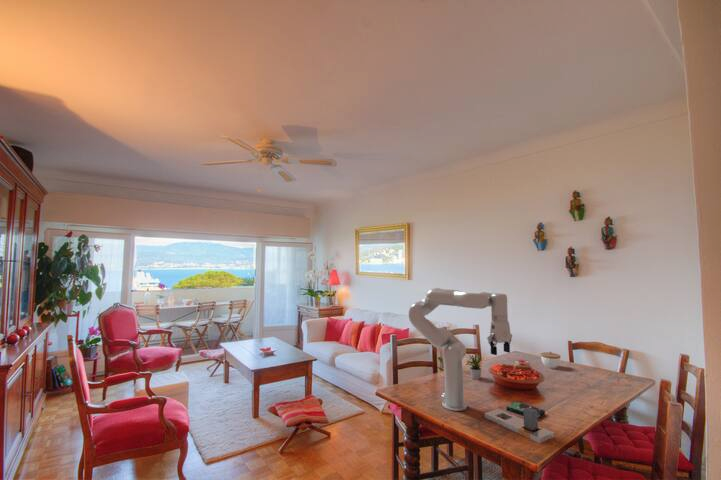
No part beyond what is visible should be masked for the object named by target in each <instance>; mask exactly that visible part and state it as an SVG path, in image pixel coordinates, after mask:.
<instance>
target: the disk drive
mask: <svg viewBox="0 0 721 480" xmlns="http://www.w3.org/2000/svg"><path fill="white" fill-rule="evenodd" d="M528 407H530V408H532V409H535V410H537V415H538V420H539V419H541V418H542V417H544V416H545V415H546V411H545V409H542V408H539V407H536V406H532V405H529V404H526V403H523V402H521V401H514V402H512V403H511V404H508V405H506V409H505V410H506V411H507V412H509V413H513V414H514V415H515V414H516V415H518V416H522V417H524V413H523V409H525V408H528Z"/></svg>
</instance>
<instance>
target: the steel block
mask: <svg viewBox="0 0 721 480" xmlns="http://www.w3.org/2000/svg"><path fill="white" fill-rule="evenodd" d="M523 413H524V416H523V420H524V429H526V430H528V431H531V432H533V433H534V432H536V431H538V426H539V419H538V415H537V410H535V409H532V408H530V407H528V408H525V409H523Z"/></svg>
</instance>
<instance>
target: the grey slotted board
mask: <svg viewBox="0 0 721 480" xmlns="http://www.w3.org/2000/svg"><path fill="white" fill-rule="evenodd" d="M484 418H485V419H487V420H489V421H492V422H494V423H496V424H498V425H499V426H502V427H504V428H506V429H509V430H510V431H512V432H515V433H518V434H519V435H521V436H524V437H526V438H528V439H530V440H531V441H535V442H537V443H538V444H542V443H543V442H546V441H548V439H549V440H550V439H553V438H555V435H554V432H553V431H551V430H549V429H546V428H545V427H542V426H539V425H538V431H536V432H534V433H533V432H531V431H528V430H526V429H524V418H521V417H518V416H516V415H515V414H514V415H513V414H511V413H510V412H508V411H507V412H506V411H504V410H502V409H500V408H497V409H494V410H490V411H487V412H484Z"/></svg>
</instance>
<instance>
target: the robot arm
mask: <svg viewBox="0 0 721 480" xmlns="http://www.w3.org/2000/svg"><path fill="white" fill-rule="evenodd" d="M439 306H451V307H460V308H461V307H462V308H468V309H478V310H479V309H486V308H487V307H491V308H490V309H491V322H490V330H489V331H490V332H489V333H490V334H489V336H487V338H486V339H487V341H488V344H489V346H490V354H491V355H494V356H497V355H498V349H497V344H499V343H500V344H503V352H504V353H510V352H511V348H510V347H511V342H512V337H513V334H512V333H511V327H510V323H509V320H508V319H509V318H508V315H509V314H508V296H507V294H505V293H497V292H496V293H490V292H479V293H476V292H475V293H474V292H464V291H463V292H462V291H460V290H458V289H445V288H440V287H434V288H430V289H429V290H427V292H426V296H425V297H424V298H423V299H422V300H419V301H416V302H414V303H412V305H410V307H409V310H408V319H409V321H410V323H411V325H412V327H414V329H416V330H417V331H418V332H419V333H420V334H421V335H422V336H423V337H424V338H425V339H426V340H427V341H428V342H429V343H430V344H431V345H432V346H433V347H434V348H436V349H441V348H443V349H444V350H443V354H442V357H443V358H442V359H443V360H442V361H443V367H444V370H443V371H444V392H442V393H441V395H440V397H441V398H443V401H442V402H441V404H442V407H443V408H444V409H446V410H448V411H455V412H462V411H464V410H467V408H468V404H467V403H466V402H465V397H464V395H465V394H464V390H465V389H464V366H463V359H464V358H465V357H466V355H467V348H466V346H465V345H464V344H463V342H462V341H461V340H459V338H458V337H456V336H455V335H454V334H453V333H452V332H451V331H450V330H449V329H446V328H444V327H437V326H436V325H435V324H434V323H433V322H432V321H430V320H429V319H427V318H426V317H425V316H427V315H429V314H431V313H432V312H433V311H434V310H435V309H437V308H438V307H439Z"/></svg>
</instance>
